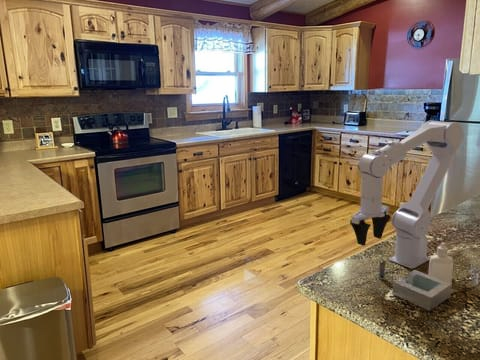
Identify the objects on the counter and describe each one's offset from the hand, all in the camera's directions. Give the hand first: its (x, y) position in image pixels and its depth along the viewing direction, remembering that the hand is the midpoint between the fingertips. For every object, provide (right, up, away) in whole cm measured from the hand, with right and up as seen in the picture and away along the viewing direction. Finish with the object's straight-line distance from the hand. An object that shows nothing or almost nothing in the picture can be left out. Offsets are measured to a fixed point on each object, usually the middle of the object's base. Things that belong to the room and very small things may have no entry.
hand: (369, 240), depth 110 cm
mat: (+9, -12, -12) cm, 20 cm away
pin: (+3, -10, -2) cm, 11 cm away
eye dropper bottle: (+17, -11, -7) cm, 21 cm away
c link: (+9, -12, -13) cm, 20 cm away
